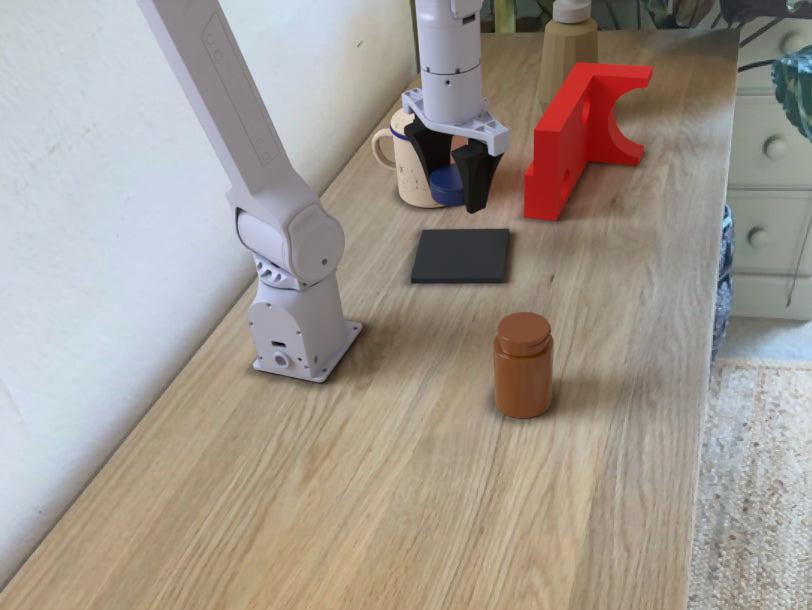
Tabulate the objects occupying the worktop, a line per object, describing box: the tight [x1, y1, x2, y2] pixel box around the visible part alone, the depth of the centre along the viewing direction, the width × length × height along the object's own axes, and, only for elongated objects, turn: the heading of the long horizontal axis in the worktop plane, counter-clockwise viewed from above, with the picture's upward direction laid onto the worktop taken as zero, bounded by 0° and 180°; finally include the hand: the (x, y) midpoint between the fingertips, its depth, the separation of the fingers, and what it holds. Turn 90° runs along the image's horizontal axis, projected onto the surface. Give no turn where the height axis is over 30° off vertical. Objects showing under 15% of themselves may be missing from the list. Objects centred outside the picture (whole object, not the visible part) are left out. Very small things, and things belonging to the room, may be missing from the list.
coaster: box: [410, 228, 510, 284], centre depth 95 cm, size 10×10×1 cm
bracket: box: [523, 62, 654, 222], centre depth 100 cm, size 18×10×10 cm
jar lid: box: [430, 163, 465, 207], centre depth 89 cm, size 6×6×2 cm
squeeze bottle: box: [537, 0, 599, 116], centre depth 108 cm, size 8×8×18 cm
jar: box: [492, 311, 555, 419], centre depth 76 cm, size 5×5×8 cm
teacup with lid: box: [371, 107, 468, 209], centre depth 102 cm, size 12×9×12 cm
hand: (458, 199), depth 90 cm, fingers closed on jar lid, 5 cm apart
